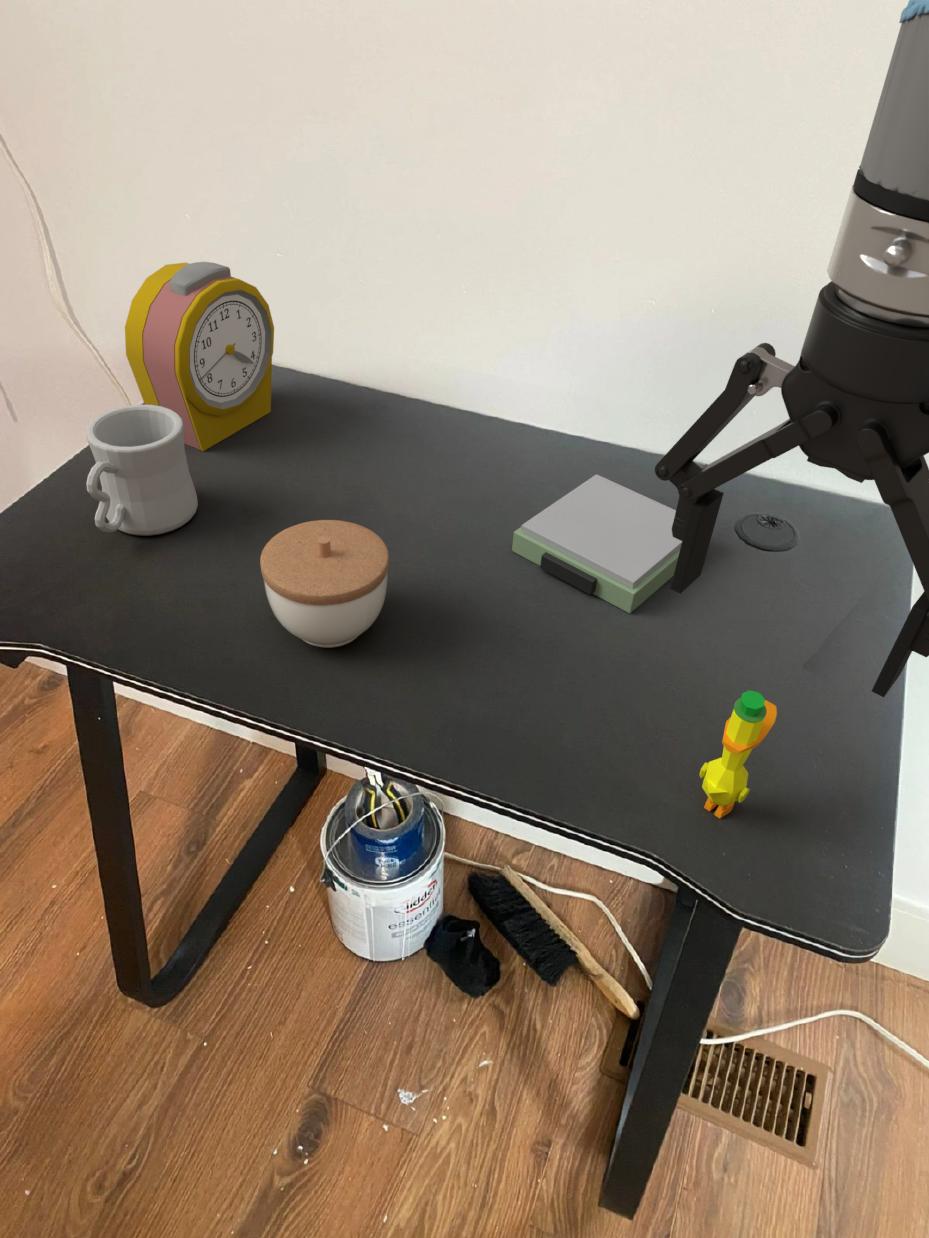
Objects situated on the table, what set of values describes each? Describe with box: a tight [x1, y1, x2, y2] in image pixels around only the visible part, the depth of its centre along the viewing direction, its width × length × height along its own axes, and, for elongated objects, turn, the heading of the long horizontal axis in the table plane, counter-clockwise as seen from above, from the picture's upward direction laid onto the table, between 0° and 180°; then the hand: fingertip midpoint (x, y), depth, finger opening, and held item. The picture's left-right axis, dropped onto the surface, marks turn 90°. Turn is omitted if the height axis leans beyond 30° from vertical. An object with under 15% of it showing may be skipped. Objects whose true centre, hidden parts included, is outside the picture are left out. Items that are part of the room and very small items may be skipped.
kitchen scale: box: [511, 474, 682, 614], centre depth 91 cm, size 14×15×3 cm
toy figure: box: [699, 690, 778, 820], centre depth 65 cm, size 7×4×12 cm, turn 137°
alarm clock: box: [124, 261, 275, 452], centre depth 102 cm, size 15×8×18 cm, turn 148°
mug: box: [85, 404, 199, 537], centre depth 89 cm, size 12×9×10 cm
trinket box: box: [259, 519, 390, 648], centre depth 79 cm, size 11×11×9 cm
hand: (780, 629), depth 57 cm, fingers open, 13 cm apart
